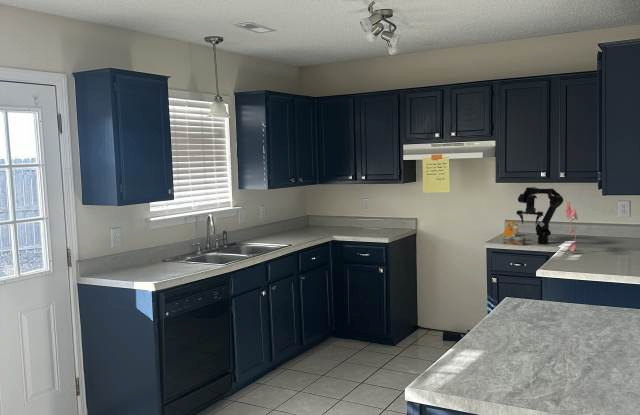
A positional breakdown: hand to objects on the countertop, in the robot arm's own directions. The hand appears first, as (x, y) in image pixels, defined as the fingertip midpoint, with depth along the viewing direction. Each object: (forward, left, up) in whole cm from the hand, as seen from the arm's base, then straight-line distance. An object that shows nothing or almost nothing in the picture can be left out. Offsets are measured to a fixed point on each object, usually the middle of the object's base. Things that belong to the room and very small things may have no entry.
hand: (529, 224), depth 457 cm
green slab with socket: (+5, +15, -13) cm, 20 cm away
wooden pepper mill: (+8, +5, -13) cm, 16 cm away
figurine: (-36, +32, -13) cm, 50 cm away
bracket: (+20, -15, -13) cm, 28 cm away
